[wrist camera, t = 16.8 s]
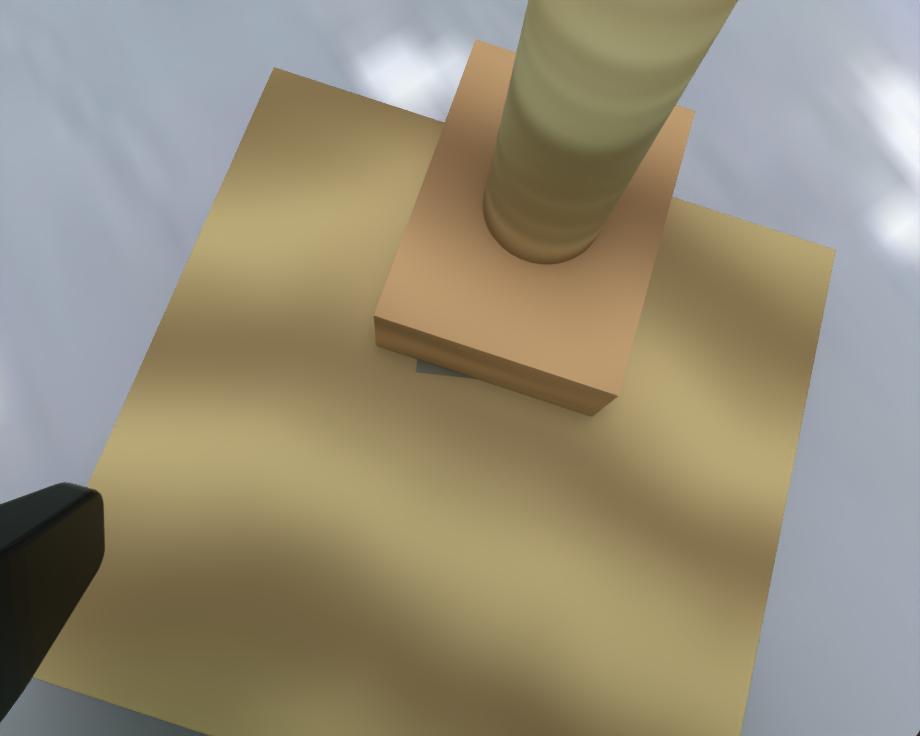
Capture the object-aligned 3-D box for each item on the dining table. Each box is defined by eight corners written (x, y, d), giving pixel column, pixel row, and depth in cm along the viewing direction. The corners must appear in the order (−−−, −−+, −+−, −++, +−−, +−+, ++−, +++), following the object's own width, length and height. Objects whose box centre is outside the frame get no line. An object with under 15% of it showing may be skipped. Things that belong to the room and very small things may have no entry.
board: (684, 874, 19) (708, 899, 18) (35, 661, 19) (5, 669, 18) (809, 269, 24) (836, 249, 22) (281, 97, 24) (273, 66, 22)
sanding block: (592, 416, 20) (905, 168, 8) (376, 345, 20) (343, -15, 8) (663, 160, 22) (998, -357, 10) (467, 96, 23) (555, -500, 10)
